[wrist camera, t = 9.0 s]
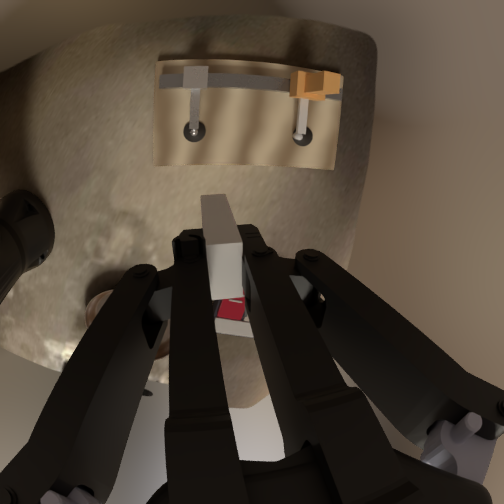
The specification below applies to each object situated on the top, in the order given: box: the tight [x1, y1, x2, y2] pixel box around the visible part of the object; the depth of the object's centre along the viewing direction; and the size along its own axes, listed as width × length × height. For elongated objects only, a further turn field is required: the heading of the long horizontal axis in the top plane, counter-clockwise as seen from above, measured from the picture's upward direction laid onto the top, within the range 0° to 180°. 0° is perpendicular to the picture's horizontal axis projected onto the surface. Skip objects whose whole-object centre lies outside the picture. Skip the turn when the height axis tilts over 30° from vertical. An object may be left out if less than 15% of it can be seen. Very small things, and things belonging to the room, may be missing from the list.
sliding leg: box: [289, 71, 341, 140], centre depth 31 cm, size 4×10×11 cm, turn 177°
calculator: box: [213, 290, 254, 338], centre depth 52 cm, size 11×4×15 cm
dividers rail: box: [159, 66, 343, 136], centre depth 33 cm, size 26×10×5 cm, turn 87°
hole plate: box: [153, 59, 343, 170], centre depth 36 cm, size 28×16×2 cm, turn 87°
